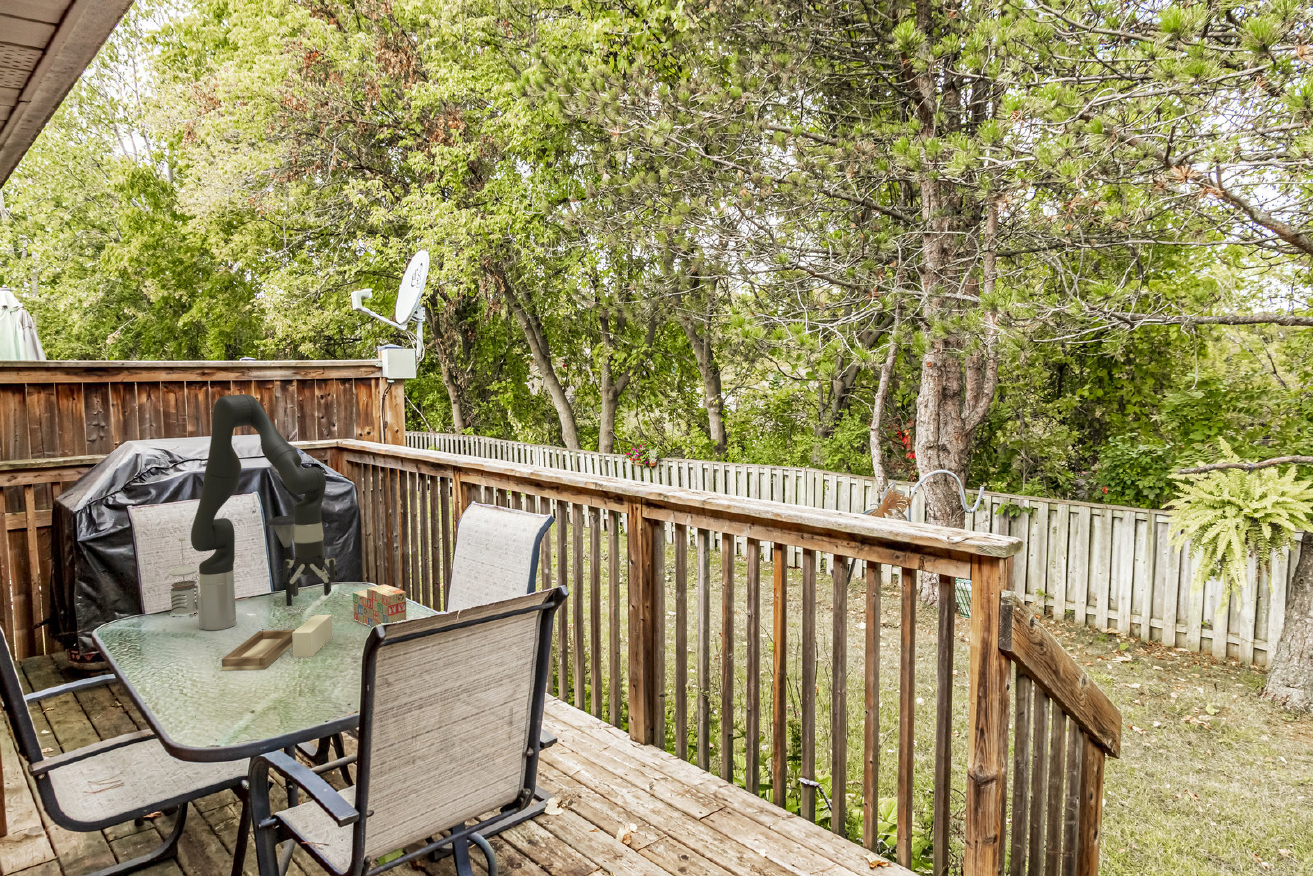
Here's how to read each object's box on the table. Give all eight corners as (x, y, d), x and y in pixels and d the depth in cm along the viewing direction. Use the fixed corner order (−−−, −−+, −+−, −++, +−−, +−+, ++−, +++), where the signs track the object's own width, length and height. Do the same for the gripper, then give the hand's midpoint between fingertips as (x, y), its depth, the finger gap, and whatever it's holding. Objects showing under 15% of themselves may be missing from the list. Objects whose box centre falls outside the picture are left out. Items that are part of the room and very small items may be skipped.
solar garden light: (314, 599, 271) (311, 513, 269) (300, 610, 259) (296, 520, 257) (278, 600, 271) (274, 514, 268) (262, 611, 258) (258, 520, 256)
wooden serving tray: (222, 670, 206) (221, 659, 206) (259, 641, 229) (259, 631, 229) (265, 669, 207) (265, 658, 207) (298, 639, 230) (298, 629, 230)
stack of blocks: (353, 621, 247) (351, 582, 246) (372, 616, 252) (370, 578, 251) (388, 636, 233) (387, 595, 232) (407, 630, 238) (406, 590, 237)
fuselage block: (293, 657, 216) (292, 633, 215) (315, 638, 232) (314, 615, 231) (311, 657, 216) (310, 632, 215) (332, 638, 232) (331, 614, 231)
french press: (183, 607, 263) (179, 533, 261) (214, 608, 261) (210, 534, 259) (160, 616, 253) (156, 540, 251) (193, 618, 251) (189, 540, 249)
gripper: (277, 542, 217) (280, 600, 218) (330, 541, 218) (332, 598, 219) (288, 537, 224) (290, 592, 226) (339, 535, 225) (341, 591, 227)
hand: (311, 595), depth 222 cm, fingers open, 8 cm apart
